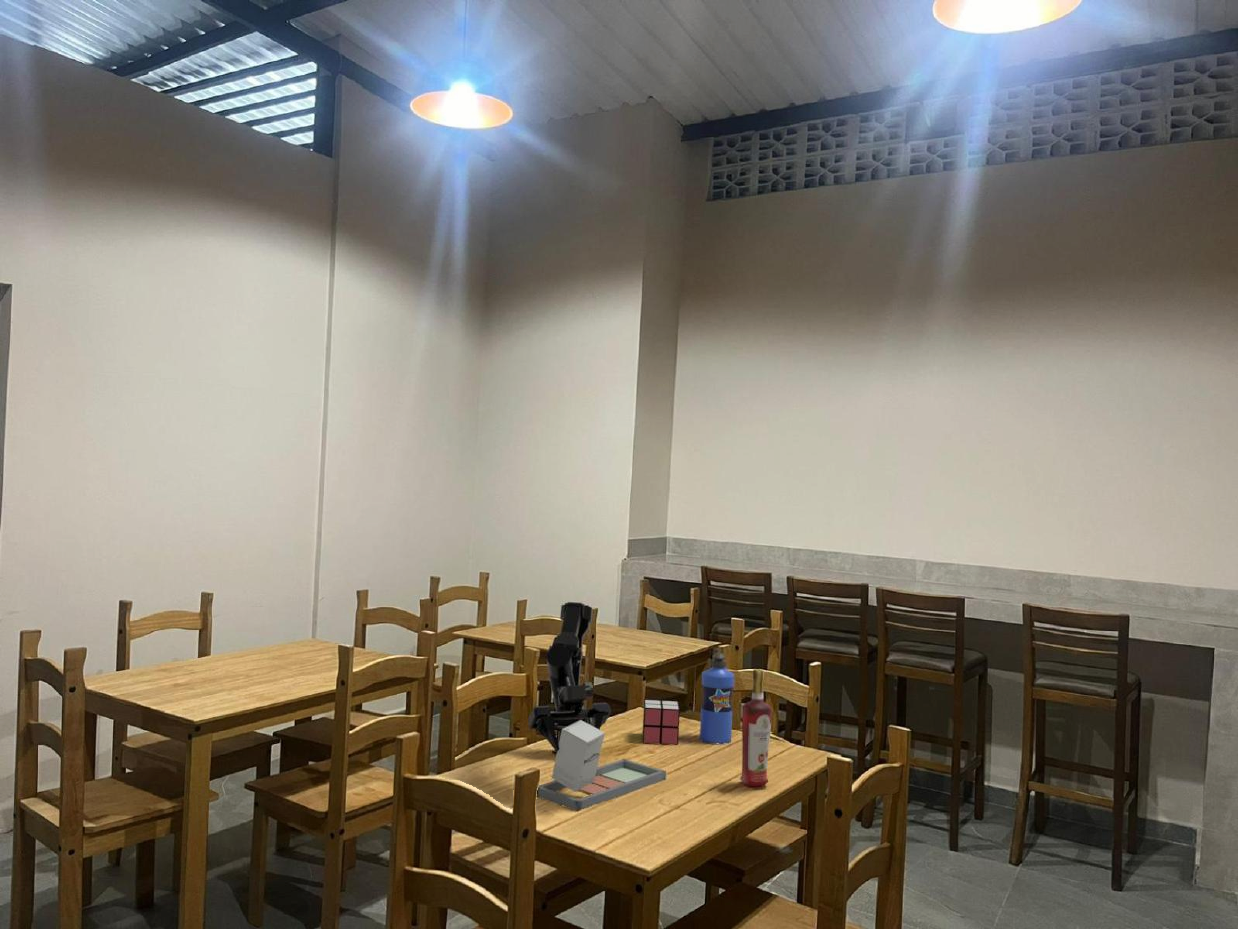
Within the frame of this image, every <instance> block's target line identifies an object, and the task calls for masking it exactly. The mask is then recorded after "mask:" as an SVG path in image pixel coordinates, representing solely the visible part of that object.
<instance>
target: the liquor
mask: <svg viewBox="0 0 1238 929" xmlns="http://www.w3.org/2000/svg"><path fill="white" fill-rule="evenodd" d="M752 671H753V673H752V677H753V678H752V679H753V685H752V692H751V700H749V701H747V702H746V703H744V704H743V705H742V706H741V712H742V713H741V714H742V716H741V718H742V719H741V720H742V721H741V729H742V730H741V736H742V743H741V744H742V749H741V751H742V756H741V757H742V760H741V762H742V763H741V765H742V766H741V775H740V778H739V779H740V781H741V783H743V785H744V786H745V787H747V788H750V787H751V789H760V788H763V787H764V786H765V785H767V783H769V779H768V776H767V775H768V773H767V772H768V760H769V749H770V738H771V729H772V728H771V727H772V714H773V707H771V706H770V705H769V704H768V703H766V702H765V700H764V685H763V684H764V679H765V678H764V677H765V669H761V668H754V669H752Z"/></svg>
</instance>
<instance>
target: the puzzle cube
mask: <svg viewBox="0 0 1238 929" xmlns="http://www.w3.org/2000/svg"><path fill="white" fill-rule="evenodd" d="M680 709H681V708H680V706H679V702H678V701H671V700H662V701H661V700H653V699H652V700H651V699H644V701H643V714H642V715H643V718H642V735H641V736H642V743H643V744H649V743H660V745H668V744H675V745H674V746H678V745H679V737H680V736H679V735H680V732H679V731H680V714H681V713H680V712H681V710H680Z"/></svg>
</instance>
